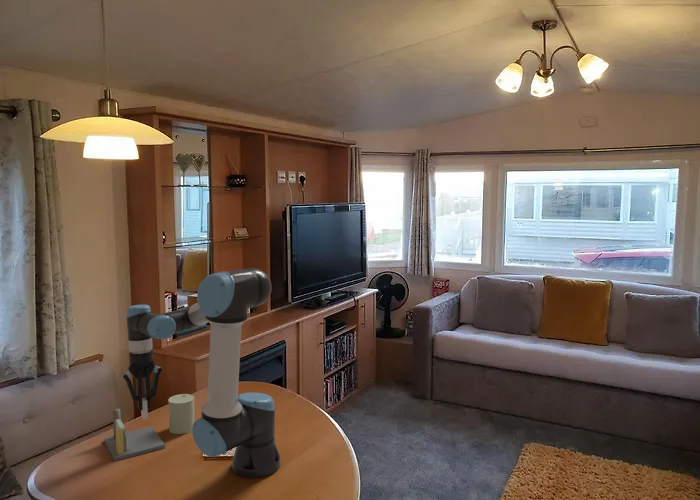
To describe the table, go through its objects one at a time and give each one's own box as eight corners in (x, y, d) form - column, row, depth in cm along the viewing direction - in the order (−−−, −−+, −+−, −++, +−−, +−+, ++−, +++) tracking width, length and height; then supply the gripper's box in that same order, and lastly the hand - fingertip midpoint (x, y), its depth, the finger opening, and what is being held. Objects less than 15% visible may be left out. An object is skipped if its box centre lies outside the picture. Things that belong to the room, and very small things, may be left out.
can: (199, 423, 201) (198, 393, 200) (189, 434, 192) (188, 402, 191) (175, 422, 202) (174, 392, 201) (164, 433, 193) (163, 401, 192)
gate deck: (165, 447, 182) (164, 416, 181) (114, 461, 173) (113, 428, 172) (151, 429, 196) (150, 400, 195) (104, 440, 187) (102, 410, 186)
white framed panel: (116, 438, 186) (115, 419, 185) (121, 437, 187) (120, 418, 186) (122, 450, 177) (121, 430, 177) (127, 449, 178) (126, 429, 177)
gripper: (157, 345, 188) (161, 410, 190) (117, 351, 181) (122, 419, 183) (163, 349, 182) (167, 416, 184) (123, 356, 175) (127, 426, 177)
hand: (144, 418), depth 183 cm, fingers closed
